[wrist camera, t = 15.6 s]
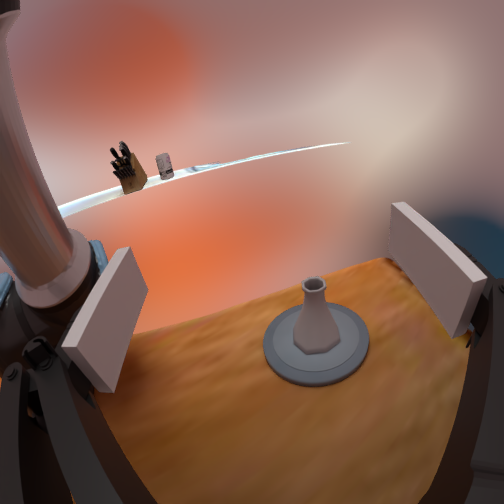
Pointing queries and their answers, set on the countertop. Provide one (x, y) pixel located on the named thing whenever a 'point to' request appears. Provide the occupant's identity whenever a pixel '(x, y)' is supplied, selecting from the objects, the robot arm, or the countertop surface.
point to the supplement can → (164, 166)
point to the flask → (315, 320)
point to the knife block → (128, 170)
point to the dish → (317, 364)
